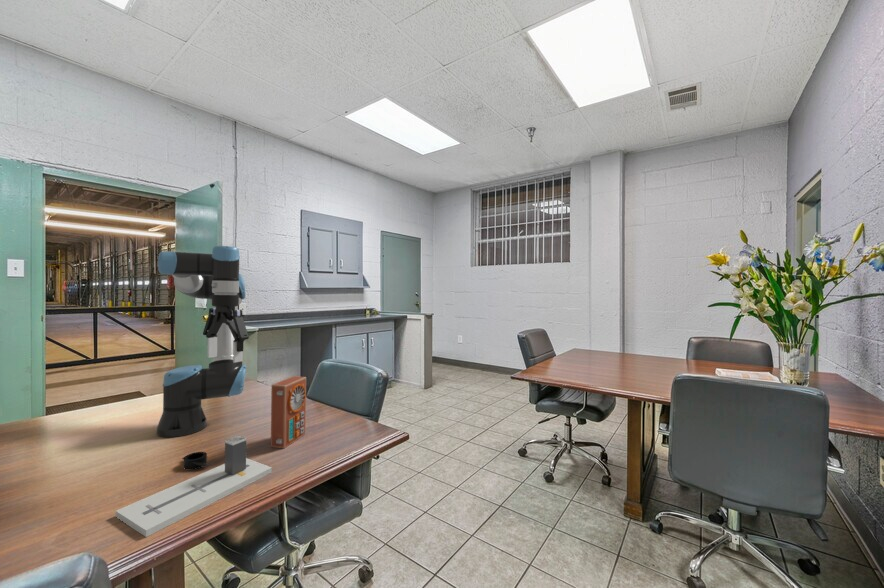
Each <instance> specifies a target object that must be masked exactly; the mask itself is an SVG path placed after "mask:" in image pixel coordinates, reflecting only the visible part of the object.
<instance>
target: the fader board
mask: <svg viewBox="0 0 884 588" xmlns="http://www.w3.org/2000/svg"><path fill="white" fill-rule="evenodd" d="M272 473H273V467H272V466H269V465H266V464H263V463H260V462H258V461H255V460H252V459H249V458H248V457H246V469H245V470H242V471H240V472H238V473H236V474H234V475H231V474H228V473H226V472H225V463H223V464H221V465H218V466H216V467H214V468H211V469H209V470H207V471H205V472H202V473H200V474H198V475H195V476H193V477H190V478H188V479H186V480H184V481H182V482H178V483H177V484H175V485H172V486H170V487H167V488H166V489H162V490H160V491H158V492H155V493H154V494H151V495H149V496H147V497H144V498H142V499H140V500H137V501H135V502H132V503H131V504H129V505H126V506H123V507H121V508H119V509H116V510H115V518H116V517H117V518H116V519H118V520H119V519H120V521H121V522H122V521H123V522H122V523H124V524H125V523H126V525H127V526H128V527H130V528H131V529H133V530H134V531H135V532H137V533H139V534H141V535H142V536H143V537H145V538H148V537H150V536H151V535H154V534H155V533H157V532H159V531H161V530H163V529H165V528H167V527H169V526H170V525H173V524H174V523H177V522H179V521H181V520H182V519H185V518H186V517H188V516H190V515H192V514H194V513H196V512H199V511H200V510H201V509H204V508H205V507H208V506H209V505H211V504H213V503H215V502H217V501H219V500H221V499H223V498H225V497H227V496H229V495H231V494H233V493H235V492H237V491H238V490H240V489H242V488H245V487H248V486H249V485H250V484H253V483H254V482H257V481H258V480H260V479H262V478H264V477H266V476H268V475H270V474H272Z"/></svg>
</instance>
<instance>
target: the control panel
mask: <svg viewBox="0 0 884 588" xmlns="http://www.w3.org/2000/svg"><path fill="white" fill-rule="evenodd" d="M270 400H271V401H270V402H271V405H270V406H271V407H270V448H276V449H277V448H279V449H286V448H287V447H289V446H290V445H292V444H293V443H294V442H296V441H297V440H299V439H300V438H302V437H303V436H305V435H304V434H306V420H307V419H306V418H307V417H306V416H307V415H306V414H307V407H306V406H307V377H306V376H299V375H298V376H297V375H293V376H290V377H289V378H288V377H287V378H285V379H282V380H280V381H278V382H276V383H273V384H271V399H270Z"/></svg>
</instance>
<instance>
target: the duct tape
mask: <svg viewBox="0 0 884 588" xmlns="http://www.w3.org/2000/svg"><path fill="white" fill-rule="evenodd" d="M181 459H182V460H183V469H184V468H185V469H184V470H186V469H193V470H196V469H195V468H197V469H200V468H202V467H201V466H203V467H207V466H210V464H209V463H207V462H208V453H207V452H206V451H196V452H192V453H188V454H186V455H185V456H184V457H182V458H181ZM199 467H200V468H199Z"/></svg>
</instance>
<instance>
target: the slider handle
mask: <svg viewBox="0 0 884 588" xmlns="http://www.w3.org/2000/svg"><path fill="white" fill-rule="evenodd" d="M246 458H247V437H244V436H241V435H237V436H234V437H231V438H228V439H225V440H224V464H225V472H226V473H228V474H231V475H234V474H236V473H238V472H240V471H242V470H245V469H246Z"/></svg>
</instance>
